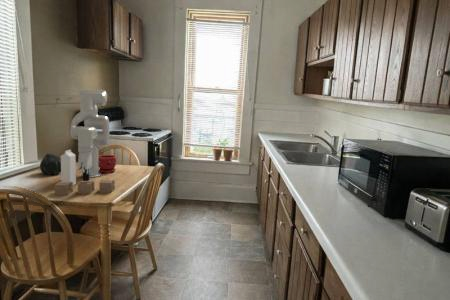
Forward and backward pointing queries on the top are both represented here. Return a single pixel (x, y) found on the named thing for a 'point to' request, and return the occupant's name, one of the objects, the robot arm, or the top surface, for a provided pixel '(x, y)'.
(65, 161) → the milk
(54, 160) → the squash
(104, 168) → the plant pot
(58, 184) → the digit block 1
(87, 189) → the plain block
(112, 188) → the digit block 7
